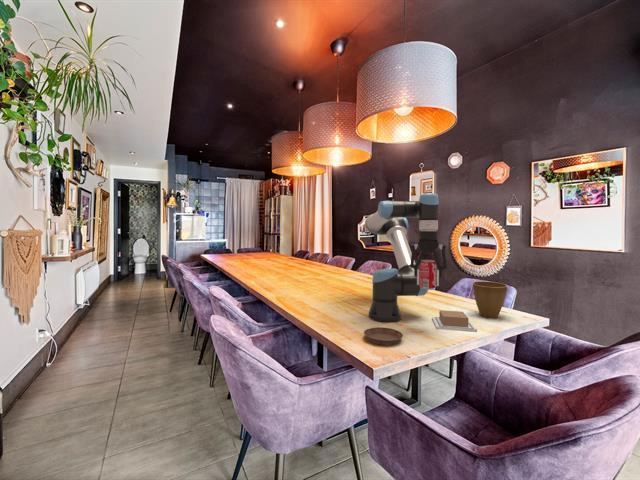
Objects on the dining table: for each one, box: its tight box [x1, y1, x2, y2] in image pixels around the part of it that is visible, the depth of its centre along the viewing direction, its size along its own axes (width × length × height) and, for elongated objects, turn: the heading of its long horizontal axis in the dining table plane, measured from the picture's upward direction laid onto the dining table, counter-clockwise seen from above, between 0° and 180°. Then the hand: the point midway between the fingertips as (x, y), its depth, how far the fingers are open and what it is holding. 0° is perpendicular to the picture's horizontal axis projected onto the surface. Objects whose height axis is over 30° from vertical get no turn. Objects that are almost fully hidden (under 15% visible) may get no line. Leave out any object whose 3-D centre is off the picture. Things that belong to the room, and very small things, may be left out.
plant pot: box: [472, 280, 508, 319], centre depth 145 cm, size 15×15×16 cm
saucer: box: [363, 327, 404, 346], centre depth 114 cm, size 15×15×3 cm
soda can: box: [419, 259, 438, 291], centre depth 125 cm, size 7×7×12 cm
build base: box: [431, 309, 478, 333], centre depth 132 cm, size 16×14×5 cm
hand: (427, 284), depth 125 cm, fingers closed on soda can, 7 cm apart
